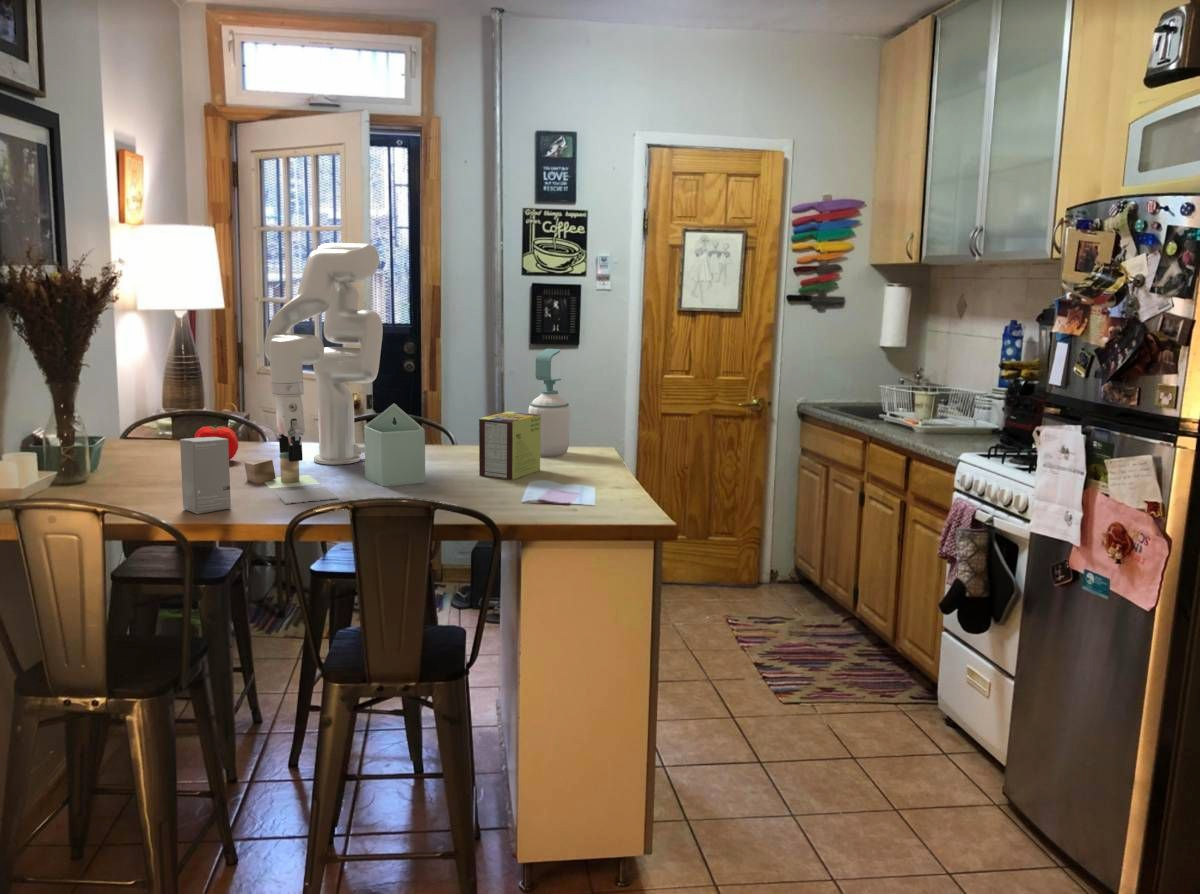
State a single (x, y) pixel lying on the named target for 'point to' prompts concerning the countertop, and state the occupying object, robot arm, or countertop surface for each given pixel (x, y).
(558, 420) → the soap bottle
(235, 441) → the tomato
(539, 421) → the protein box
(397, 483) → the planter
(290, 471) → the green lidded jar
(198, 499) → the skincare box
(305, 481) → the mat
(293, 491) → the grey square tile
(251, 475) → the walnut block
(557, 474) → the countertop surface
